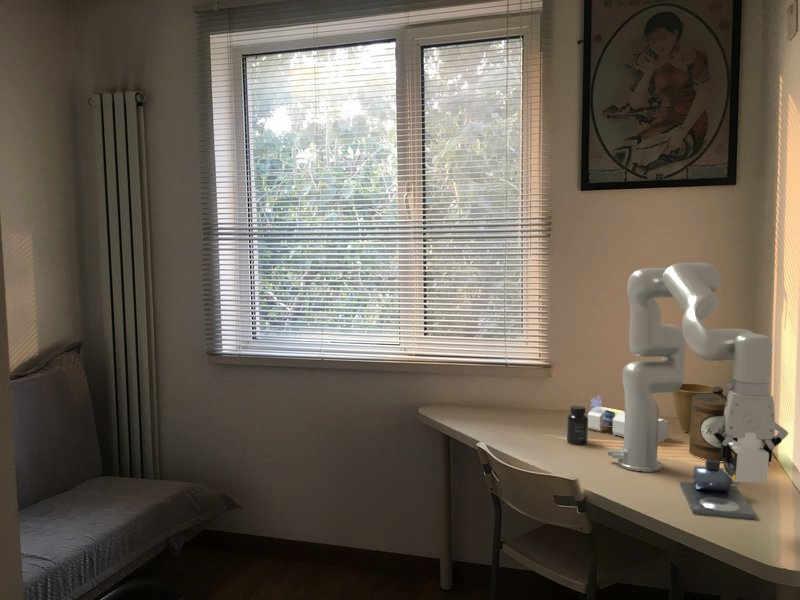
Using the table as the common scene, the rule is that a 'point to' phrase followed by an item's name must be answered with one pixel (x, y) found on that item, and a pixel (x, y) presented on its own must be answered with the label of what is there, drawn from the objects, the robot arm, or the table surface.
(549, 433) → the table surface
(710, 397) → the wooden container
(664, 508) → the table surface
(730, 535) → the table surface
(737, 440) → the medicine bottle
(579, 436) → the supplement bottle
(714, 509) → the motor base
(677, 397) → the plant pot
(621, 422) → the diorama
